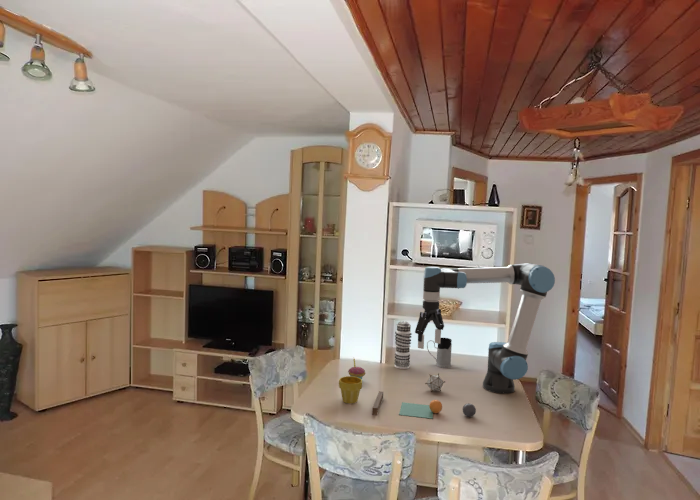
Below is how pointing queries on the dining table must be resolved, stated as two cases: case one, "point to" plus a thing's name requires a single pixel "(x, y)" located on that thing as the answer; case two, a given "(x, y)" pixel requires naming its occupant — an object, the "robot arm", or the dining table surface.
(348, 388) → the plant pot
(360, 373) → the cupcake
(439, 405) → the orange ball
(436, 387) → the grey spiky polyhedron
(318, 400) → the dining table surface
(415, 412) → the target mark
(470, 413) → the dark grey ball
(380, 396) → the walnut stopper
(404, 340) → the decorative candle
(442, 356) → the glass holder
